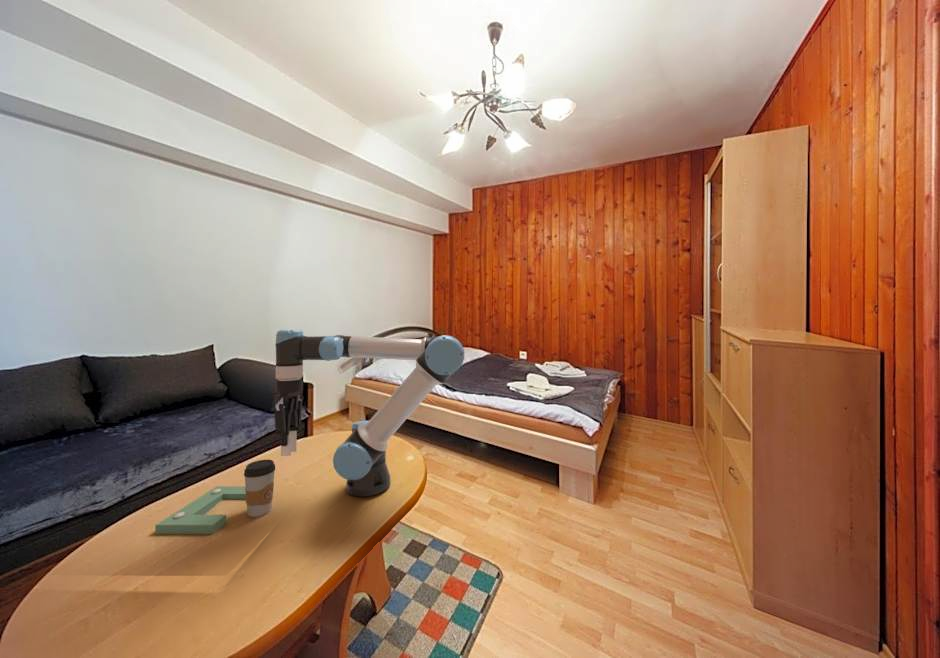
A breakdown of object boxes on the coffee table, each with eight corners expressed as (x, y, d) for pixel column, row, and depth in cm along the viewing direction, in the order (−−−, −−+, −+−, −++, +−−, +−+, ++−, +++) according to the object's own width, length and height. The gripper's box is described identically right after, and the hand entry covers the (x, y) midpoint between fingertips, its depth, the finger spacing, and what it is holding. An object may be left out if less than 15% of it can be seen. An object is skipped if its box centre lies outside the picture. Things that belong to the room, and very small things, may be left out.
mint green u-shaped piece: (262, 493, 112) (262, 484, 112) (212, 534, 90) (212, 523, 90) (216, 493, 112) (216, 484, 112) (155, 533, 90) (155, 522, 90)
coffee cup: (259, 521, 96) (260, 471, 96) (236, 517, 98) (236, 468, 98) (281, 506, 104) (281, 460, 104) (259, 503, 106) (259, 457, 106)
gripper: (291, 375, 109) (290, 444, 109) (261, 382, 93) (260, 463, 93) (313, 375, 109) (312, 444, 109) (287, 383, 93) (286, 463, 93)
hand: (288, 453), depth 101 cm, fingers open, 3 cm apart
